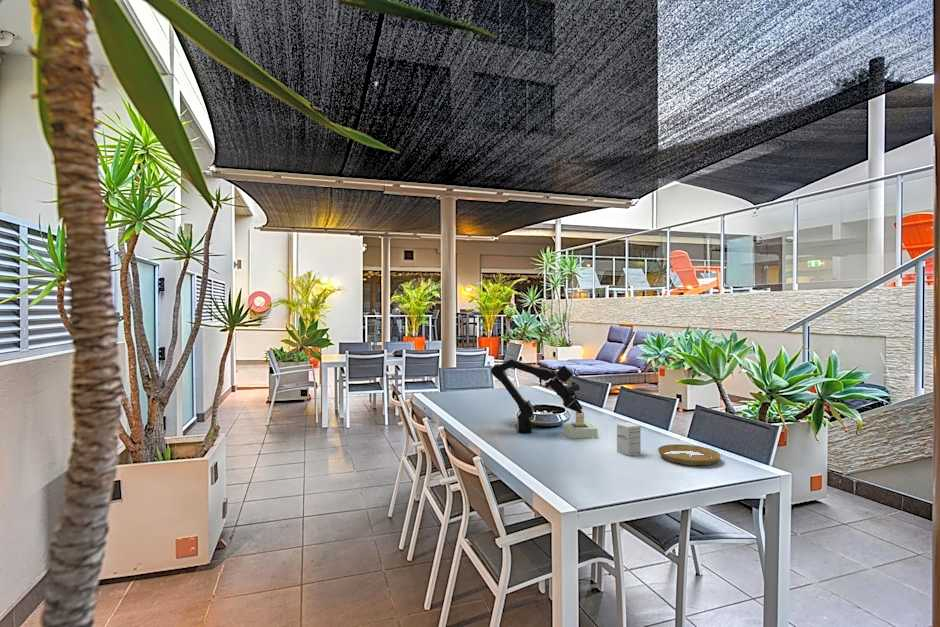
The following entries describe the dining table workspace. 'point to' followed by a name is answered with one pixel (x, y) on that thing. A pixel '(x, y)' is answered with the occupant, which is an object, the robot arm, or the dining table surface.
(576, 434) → the slot box
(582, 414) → the maple block
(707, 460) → the plant saucer
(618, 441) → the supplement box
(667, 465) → the dining table surface
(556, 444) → the dining table surface
